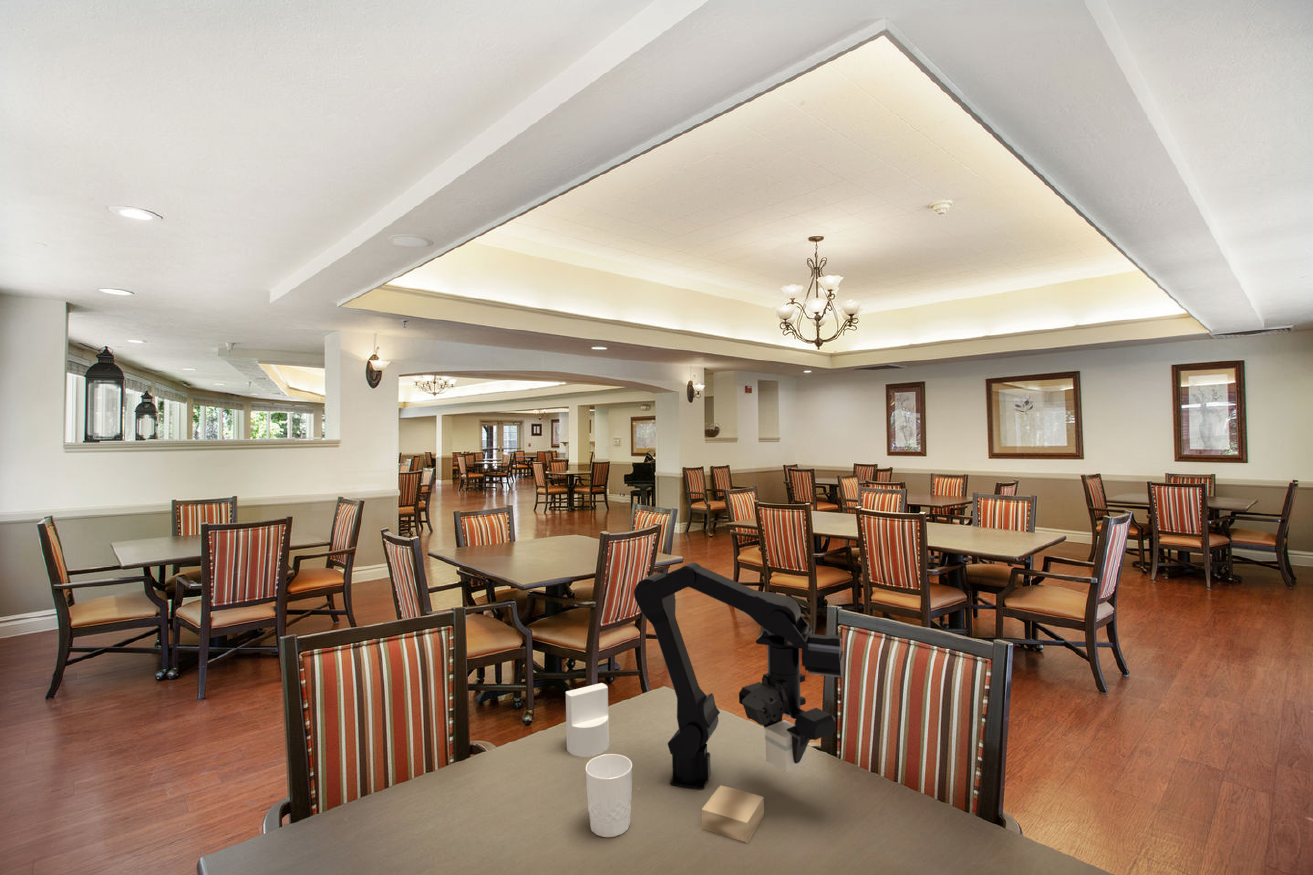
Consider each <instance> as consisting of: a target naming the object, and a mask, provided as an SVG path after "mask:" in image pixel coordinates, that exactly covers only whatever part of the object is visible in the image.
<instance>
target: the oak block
mask: <svg viewBox="0 0 1313 875" xmlns="http://www.w3.org/2000/svg"><path fill="white" fill-rule="evenodd" d="M764 799H765V798H764V796H761V795H758V794H754V793H751V792H748V791H743V790H741V789H740V790H739V789H737V788H736V789H735V788H732V787H729V786H725V785H719V786H718V787H717V789H716V790H715V791H714V793H713V794H712V795H711V797H710V798H709V799H708V800H707V802H706V803H705V804H704V805H703V806H702V808H701V829H702V830H706V831H709V832H713V833H715V834H718V835H721V836H725V837H728V838H731V839H734V840H736V841H737V840H738V841H741V842H743V843H747V844H748V843H749V842H750V839H751V838H752V836H753V834H754V833H755V832H756V830H757V828H758V826H759V824H761V821H762V820H763V817H764V816H765V809H764V808H765V805H764V804H765V802H764V801H765V800H764Z"/></svg>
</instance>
